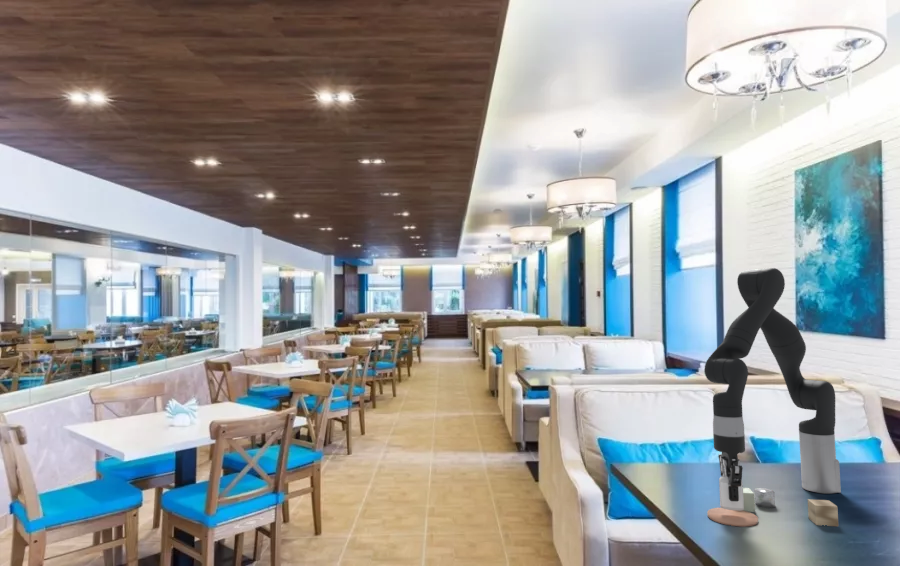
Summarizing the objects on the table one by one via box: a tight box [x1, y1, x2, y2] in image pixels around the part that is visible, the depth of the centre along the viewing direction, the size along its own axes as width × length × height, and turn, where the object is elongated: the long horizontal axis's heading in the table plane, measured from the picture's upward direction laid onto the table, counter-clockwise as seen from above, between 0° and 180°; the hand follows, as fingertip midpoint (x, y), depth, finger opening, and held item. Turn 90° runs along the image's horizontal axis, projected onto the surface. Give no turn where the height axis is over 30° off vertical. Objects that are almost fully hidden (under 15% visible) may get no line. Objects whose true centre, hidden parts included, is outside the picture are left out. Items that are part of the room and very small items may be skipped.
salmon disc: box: [706, 507, 759, 528], centre depth 148 cm, size 12×12×1 cm
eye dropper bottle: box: [718, 473, 744, 511], centre depth 148 cm, size 4×6×12 cm
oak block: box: [807, 498, 839, 527], centre depth 144 cm, size 5×5×5 cm
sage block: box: [743, 487, 756, 513], centre depth 156 cm, size 5×5×5 cm
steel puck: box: [753, 487, 776, 509], centre depth 158 cm, size 5×5×4 cm
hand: (731, 497), depth 148 cm, fingers closed on eye dropper bottle, 3 cm apart
